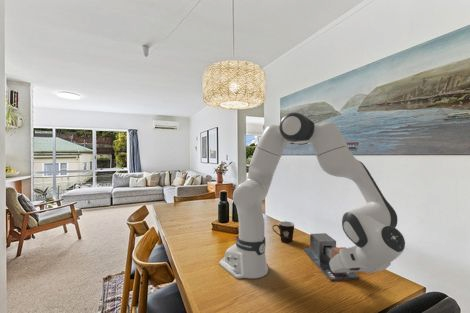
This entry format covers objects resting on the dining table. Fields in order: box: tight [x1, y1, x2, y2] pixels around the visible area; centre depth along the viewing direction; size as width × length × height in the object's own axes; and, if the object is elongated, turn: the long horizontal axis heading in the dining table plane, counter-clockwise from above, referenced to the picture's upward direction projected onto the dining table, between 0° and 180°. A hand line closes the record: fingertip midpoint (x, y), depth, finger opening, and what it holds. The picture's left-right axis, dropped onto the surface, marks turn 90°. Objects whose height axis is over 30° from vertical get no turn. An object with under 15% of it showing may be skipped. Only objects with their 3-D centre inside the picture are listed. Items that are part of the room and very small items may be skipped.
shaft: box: [324, 246, 347, 273], centre depth 101 cm, size 17×6×9 cm, turn 5°
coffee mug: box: [271, 220, 295, 244], centre depth 131 cm, size 12×9×10 cm
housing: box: [302, 232, 360, 282], centre depth 105 cm, size 28×12×10 cm, turn 5°
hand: (350, 271), depth 87 cm, fingers closed
